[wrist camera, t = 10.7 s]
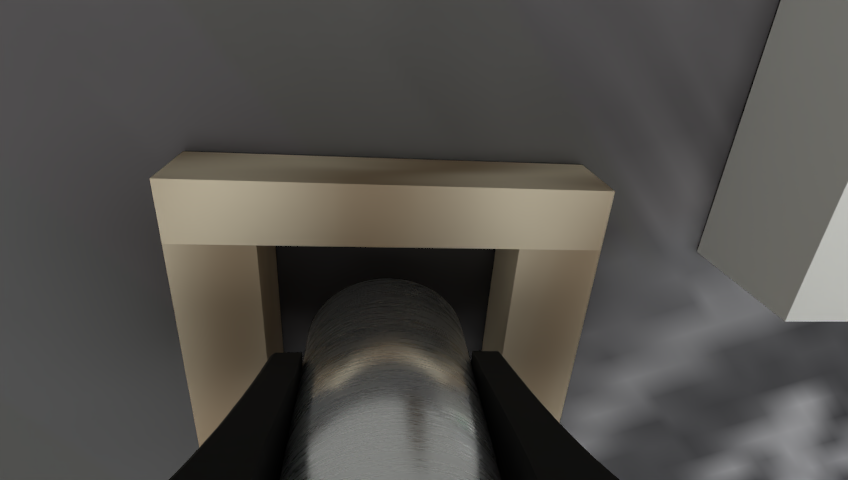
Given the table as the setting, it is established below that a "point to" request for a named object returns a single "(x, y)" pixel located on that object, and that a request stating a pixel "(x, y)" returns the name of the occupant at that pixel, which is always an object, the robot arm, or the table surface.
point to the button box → (790, 172)
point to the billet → (388, 391)
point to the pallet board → (372, 227)
